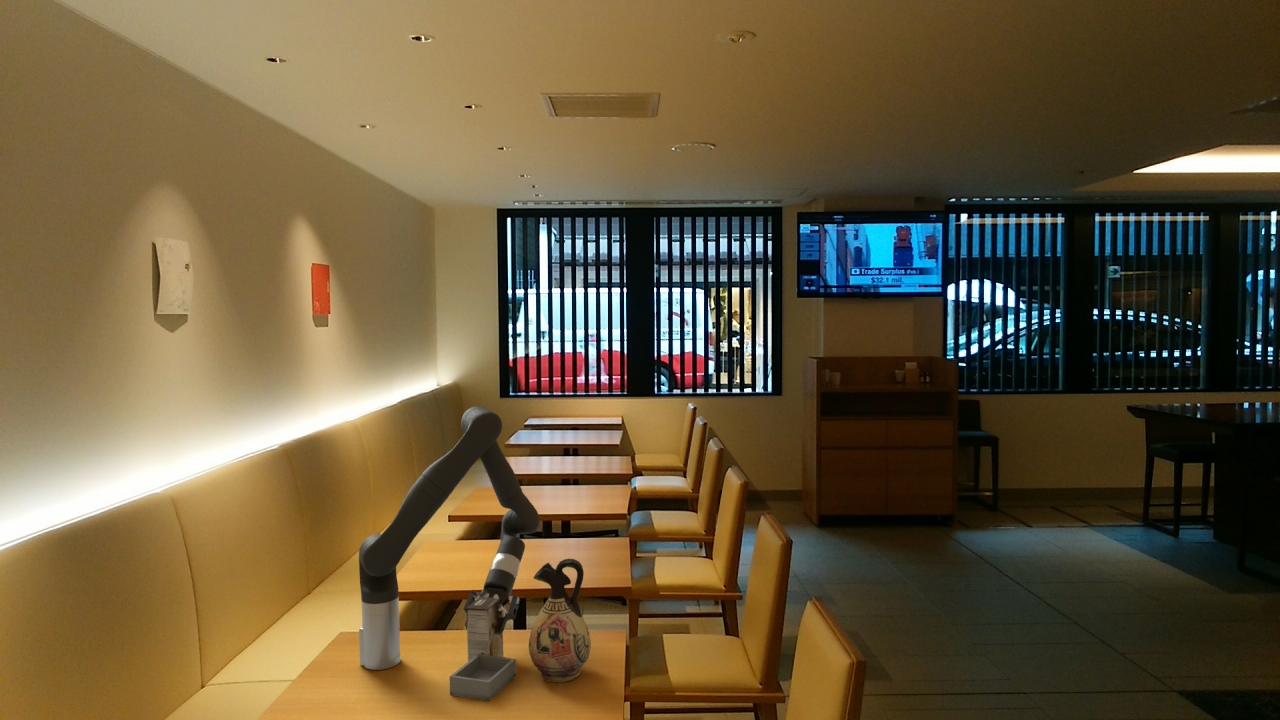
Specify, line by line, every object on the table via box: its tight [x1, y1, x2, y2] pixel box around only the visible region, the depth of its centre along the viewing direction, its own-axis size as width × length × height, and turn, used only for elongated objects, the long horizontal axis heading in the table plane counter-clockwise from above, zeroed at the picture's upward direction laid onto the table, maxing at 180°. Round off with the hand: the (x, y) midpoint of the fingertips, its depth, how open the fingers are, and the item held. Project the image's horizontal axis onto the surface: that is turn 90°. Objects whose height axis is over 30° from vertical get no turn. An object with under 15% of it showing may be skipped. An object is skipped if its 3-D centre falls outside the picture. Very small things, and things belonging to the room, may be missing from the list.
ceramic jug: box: [528, 558, 592, 683], centre depth 204 cm, size 17×15×30 cm
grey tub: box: [449, 654, 517, 702], centre depth 199 cm, size 11×14×4 cm
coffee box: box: [466, 596, 504, 662], centre depth 212 cm, size 9×6×16 cm
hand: (482, 631), depth 211 cm, fingers open, 8 cm apart
